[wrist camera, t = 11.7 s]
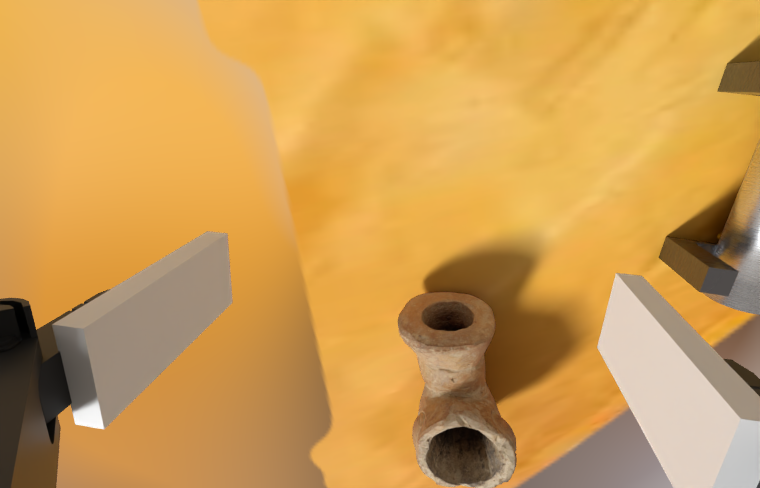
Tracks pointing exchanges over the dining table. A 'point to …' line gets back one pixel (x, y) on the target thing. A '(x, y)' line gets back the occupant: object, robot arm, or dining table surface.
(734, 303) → the tube
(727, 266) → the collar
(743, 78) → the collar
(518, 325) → the dining table surface
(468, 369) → the pipe
